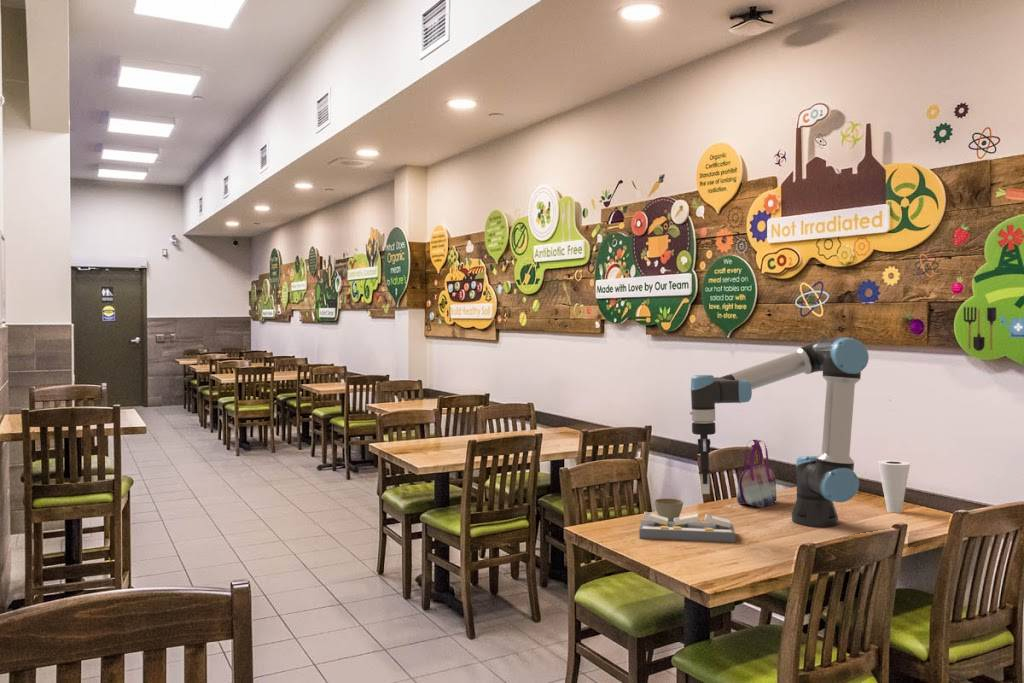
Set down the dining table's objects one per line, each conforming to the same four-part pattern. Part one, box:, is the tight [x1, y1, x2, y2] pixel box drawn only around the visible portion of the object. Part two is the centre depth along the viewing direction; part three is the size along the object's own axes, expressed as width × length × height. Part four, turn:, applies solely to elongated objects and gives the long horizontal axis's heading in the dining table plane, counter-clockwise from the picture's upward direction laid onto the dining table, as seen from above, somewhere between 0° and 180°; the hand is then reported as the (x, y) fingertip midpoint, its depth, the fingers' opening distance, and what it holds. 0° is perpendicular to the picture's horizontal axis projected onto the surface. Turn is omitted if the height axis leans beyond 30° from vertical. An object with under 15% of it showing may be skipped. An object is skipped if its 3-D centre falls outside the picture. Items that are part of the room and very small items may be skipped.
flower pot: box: [653, 497, 684, 522], centre depth 266 cm, size 10×10×7 cm
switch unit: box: [638, 519, 736, 543], centre depth 246 cm, size 30×12×4 cm, turn 77°
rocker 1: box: [642, 511, 668, 526], centre depth 250 cm, size 8×4×2 cm, turn 77°
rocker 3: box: [704, 513, 732, 528], centre depth 245 cm, size 8×4×2 cm, turn 77°
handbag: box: [736, 439, 777, 508], centre depth 291 cm, size 21×10×25 cm, turn 125°
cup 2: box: [877, 459, 911, 514], centre depth 276 cm, size 11×11×18 cm
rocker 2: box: [674, 513, 700, 526], centre depth 247 cm, size 8×4×2 cm, turn 77°
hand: (705, 493), depth 246 cm, fingers closed
